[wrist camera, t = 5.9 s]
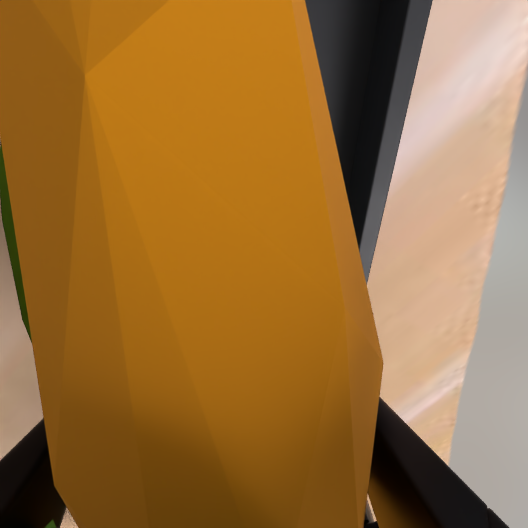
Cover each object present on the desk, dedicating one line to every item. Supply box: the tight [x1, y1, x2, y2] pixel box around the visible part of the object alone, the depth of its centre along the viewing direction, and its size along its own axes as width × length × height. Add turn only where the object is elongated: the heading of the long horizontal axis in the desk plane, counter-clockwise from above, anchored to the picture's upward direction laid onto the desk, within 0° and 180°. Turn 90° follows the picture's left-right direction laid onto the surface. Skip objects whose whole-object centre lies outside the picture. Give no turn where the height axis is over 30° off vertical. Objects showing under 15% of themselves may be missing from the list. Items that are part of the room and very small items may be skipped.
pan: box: [305, 0, 432, 285], centre depth 16 cm, size 25×13×3 cm, turn 178°
